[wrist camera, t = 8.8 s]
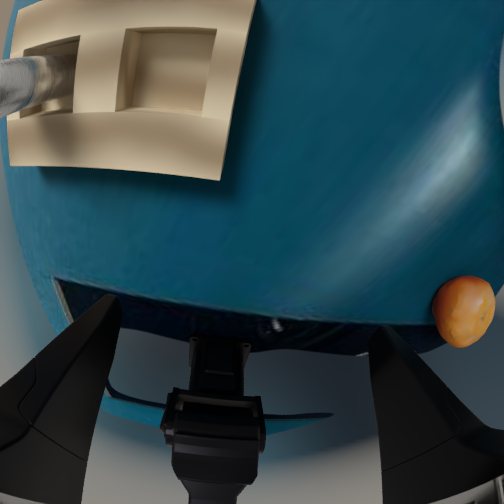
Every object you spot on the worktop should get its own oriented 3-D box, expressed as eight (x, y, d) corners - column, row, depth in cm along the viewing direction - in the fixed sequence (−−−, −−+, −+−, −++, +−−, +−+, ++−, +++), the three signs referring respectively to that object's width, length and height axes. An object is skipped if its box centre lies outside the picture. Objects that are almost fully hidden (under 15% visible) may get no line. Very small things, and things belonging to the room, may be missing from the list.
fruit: (411, 335, 28) (452, 361, 20) (421, 269, 27) (468, 281, 19) (455, 328, 28) (494, 348, 20) (464, 270, 27) (508, 279, 19)
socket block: (223, 164, 18) (219, 180, 15) (33, 152, 16) (10, 165, 13) (258, -6, 11) (260, -22, 8) (42, 12, 9) (18, 10, 6)
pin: (83, 95, 14) (1, 121, 7) (49, 98, 13) (-31, 128, 7) (87, 51, 12) (4, 55, 5) (53, 57, 11) (-30, 70, 5)
